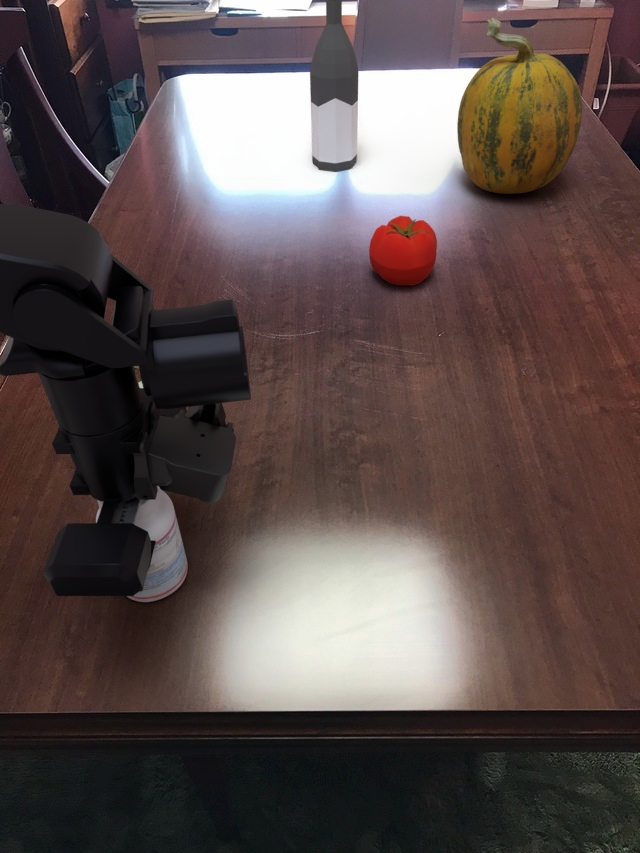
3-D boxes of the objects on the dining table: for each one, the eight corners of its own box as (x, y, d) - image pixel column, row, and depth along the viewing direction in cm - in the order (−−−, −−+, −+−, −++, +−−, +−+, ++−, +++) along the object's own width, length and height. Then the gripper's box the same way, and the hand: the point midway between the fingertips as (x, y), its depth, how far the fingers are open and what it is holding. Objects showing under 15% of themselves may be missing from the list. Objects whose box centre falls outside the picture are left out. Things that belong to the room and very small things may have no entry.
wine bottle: (355, 153, 128) (358, -40, 107) (358, 171, 122) (362, -30, 101) (311, 155, 127) (306, -38, 107) (312, 172, 122) (307, -28, 101)
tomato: (389, 299, 91) (392, 247, 86) (358, 269, 97) (359, 219, 92) (449, 282, 94) (456, 231, 88) (415, 254, 100) (419, 204, 94)
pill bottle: (111, 560, 61) (79, 472, 53) (179, 538, 62) (156, 449, 55) (125, 615, 56) (92, 529, 49) (197, 590, 58) (175, 502, 51)
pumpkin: (427, 184, 117) (442, 17, 100) (498, 154, 126) (523, -4, 109) (517, 221, 106) (551, 41, 89) (588, 185, 115) (630, 16, 98)
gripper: (197, 514, 39) (230, 654, 50) (234, 326, 53) (254, 467, 63) (5, 514, 40) (79, 653, 50) (92, 328, 53) (135, 468, 64)
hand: (147, 549), depth 57 cm, fingers closed on pill bottle, 7 cm apart
